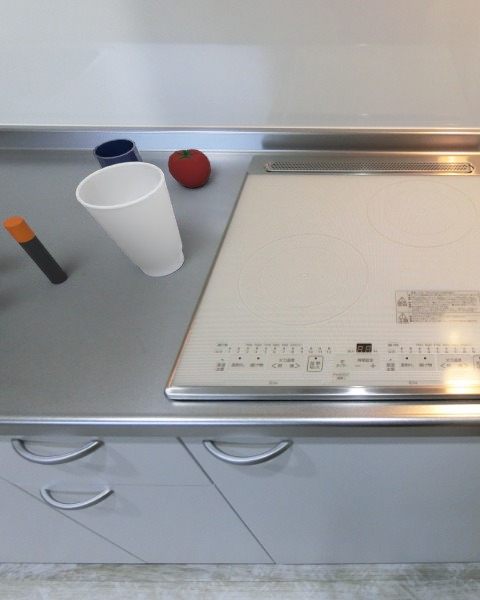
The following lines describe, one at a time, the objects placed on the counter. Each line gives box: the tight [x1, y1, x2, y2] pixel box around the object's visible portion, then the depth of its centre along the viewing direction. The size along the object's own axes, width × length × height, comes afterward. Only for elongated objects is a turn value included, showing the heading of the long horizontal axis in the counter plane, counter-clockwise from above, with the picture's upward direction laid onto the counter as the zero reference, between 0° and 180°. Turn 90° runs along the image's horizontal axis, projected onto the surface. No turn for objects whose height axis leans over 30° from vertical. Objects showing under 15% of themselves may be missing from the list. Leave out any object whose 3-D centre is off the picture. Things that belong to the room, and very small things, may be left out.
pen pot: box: [92, 138, 146, 169], centre depth 88 cm, size 8×8×8 cm
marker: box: [2, 216, 68, 285], centre depth 68 cm, size 2×2×12 cm
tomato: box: [167, 148, 212, 189], centre depth 89 cm, size 8×8×7 cm
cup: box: [75, 161, 185, 278], centre depth 69 cm, size 12×12×16 cm
